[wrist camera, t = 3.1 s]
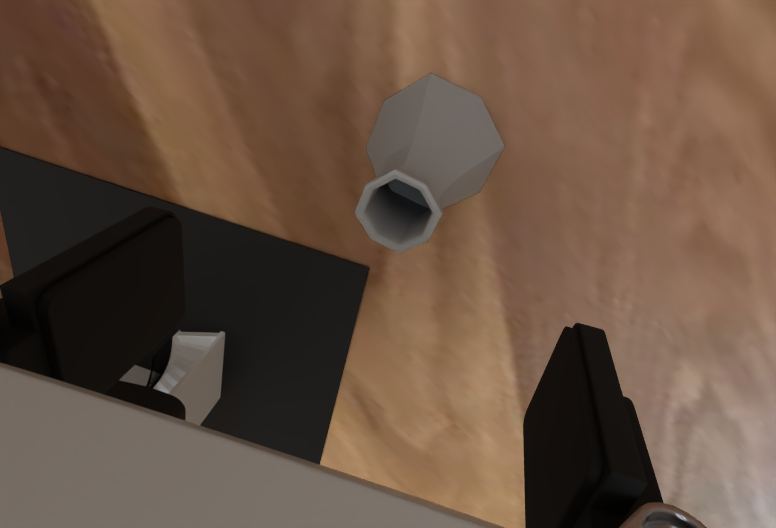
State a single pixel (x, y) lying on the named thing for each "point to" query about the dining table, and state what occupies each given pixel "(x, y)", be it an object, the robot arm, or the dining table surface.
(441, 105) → the flask
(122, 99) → the dining table surface
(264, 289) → the black-topped pedestal
